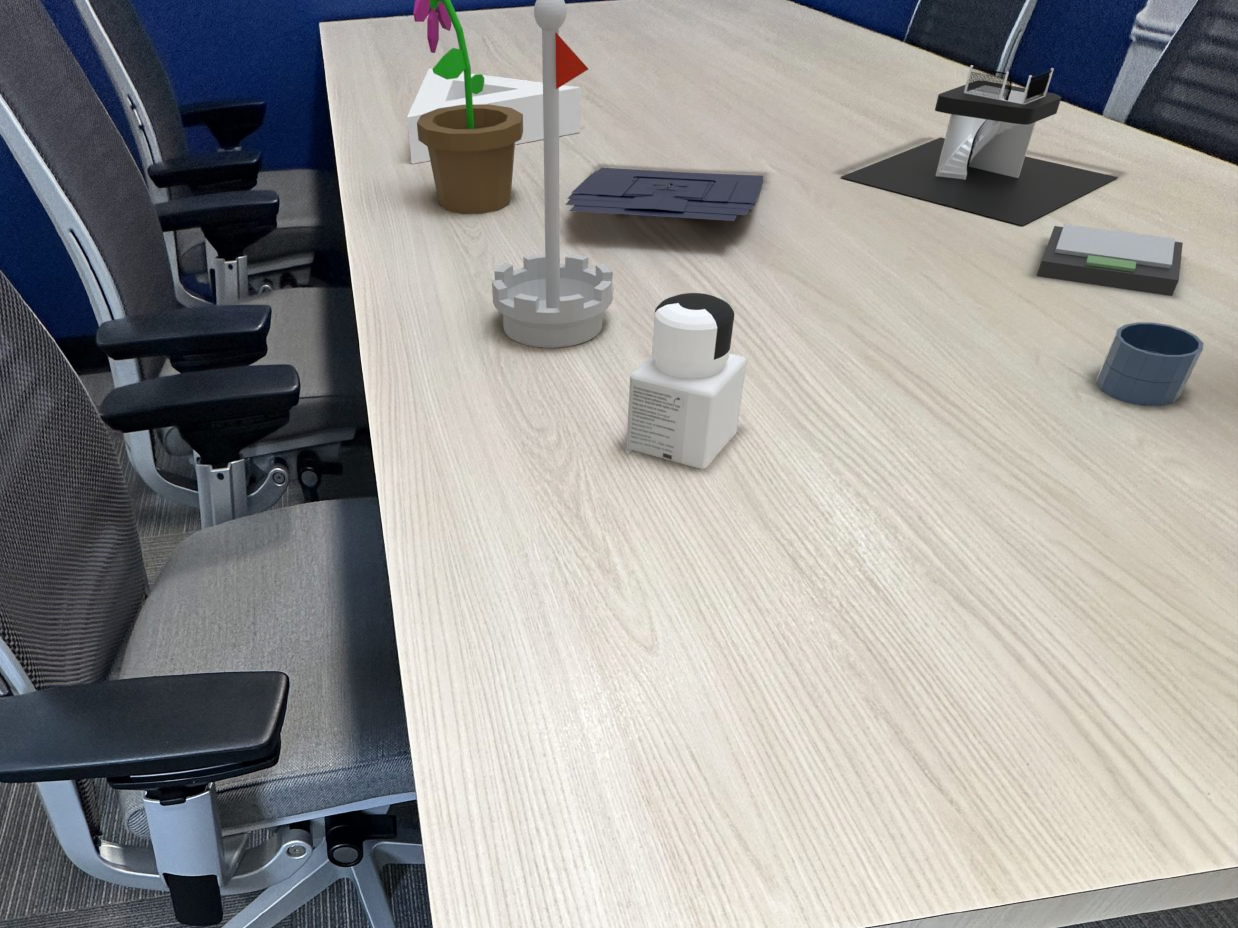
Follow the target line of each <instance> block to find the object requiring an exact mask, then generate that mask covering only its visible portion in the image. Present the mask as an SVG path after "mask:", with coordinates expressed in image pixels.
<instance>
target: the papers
mask: <svg viewBox="0 0 1238 928" xmlns="http://www.w3.org/2000/svg"><path fill="white" fill-rule="evenodd" d="M763 183H764V175H761V174H758V175H757V174H736V173H735V174H733V173H714V172H713V173H711V172H689V171H687V172H686V171H669V170H652V169H635V168H619V167H617V168H616V167H600V168H599V169H598V170H595V171H593V173H590V174H589V175H588V176H587V177H586V178H585V179H584V180H583V181H582V182H581V183H580V184H579V185H577V186H576V188H575V189H573V190H572V191H571V194H570V195H569V196H567V198H566V199H567V200H568V201H567V202H565V205H566V206H571V208H569V210H568V212H575V213H576V212H578V213H579V212H580V213H596V214H597V213H598V214H613V215H629V216H630V215H632V216H648V217H665V218H679V219H680V218H681V219H696V220H713V221H726V222H727V221H729V222H735V220H736V218H737V216H747V215H748V214H749V211H750V210H753V209H754V207H755V205H756V203H757V201H758V198H759V194H760V192H761V188H762V186H763Z"/></svg>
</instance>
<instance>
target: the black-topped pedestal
mask: <svg viewBox="0 0 1238 928" xmlns="http://www.w3.org/2000/svg"><path fill="white" fill-rule="evenodd" d="M1054 69H1055V68H1053V67H1051V68H1050V70H1048V71H1046V72H1043V73H1039V74H1037V75H1035V76H1033V75H1031V74H1030V75H1028V79H1027V83H1026V86H1025V87H1021V86H1015V85H1013V83H1012V77H1011V75H1010V73H1009V71H1006V72H1005V71H1004V72H1003V71H998V70H991V69H986V68H981V67H976V66H974V65H972V64H971V65H970V67H969V71H968V73H967V74H968V75H967V78H966V82H965V84H963V85H960V86H957V87H954V88H952V89H949V90H946V91H943V92H941V93H938V95H937V98H936V103H935V107H934V111H935V112H938V113H943V114H947V115H950V117H949V121H948V124H947V128H946V133H945V137H941V136H940V137H938V138H935V139H933V140H929V141H928V142H925V143H923V144H920V145H918V146H915V147H912V148H910V149H908V150H905V151H902V152H900V153H897V154H894V155H892V156H889V157H887V158H885V159H882V160H879V161H877V162H874V163H872V164H869V165H867V166H864V167H862V168H858V169H856V170H854V171H852V172H849V173H847V174H846V173H845V174H844V175H842V176H840V178H842V179H847V180H850V181H853V182H857V183H861V184H865V185H869V186H872V187H876V188H879V189H883V190H887V191H890V192H894V193H898V194H903V195H906V196H909V197H910V196H911V197H913V198H918V199H921V200H924V201H928V202H933V203H937V204H940V205H944V206H947V207H951V208H956V209H959V210H962V211H966V212H970V213H973V214H978V215H982V216H985V217H990V218H993V219H997V220H1000V221H1004V222H1007V223H1013V224H1015V225H1018V226H1025V225H1027V224H1029V223H1030V222H1032V221H1035V220H1036V219H1039V218H1041V217H1043V216H1045V215H1047V214H1049V213H1051V212H1052V211H1055V210H1056V209H1059V208H1060V207H1062V206H1065V205H1067V204H1068V203H1070V202H1072V201H1074V200H1077V199H1078V198H1080V197H1081V196H1085V195H1086V194H1088V193H1090V192H1092V191H1095V190H1096V189H1098V188H1101V187H1102V186H1104V185H1106V184H1108V183H1110V182H1112V181H1114V180H1116V179H1118V178H1119V176H1115V175H1112V174H1107V173H1102V172H1097V171H1092V170H1090V169H1089V170H1088V169H1083V168H1079V167H1075V166H1070V165H1065V164H1061V163H1057V162H1052V161H1048V160H1043V159H1039V158H1036V157H1035V158H1034V157H1030V156H1026V155H1027V151H1028V149H1029V145H1030V142H1031V139H1032V135H1033V133H1034V129H1035V126H1036V123H1037V122H1039V121H1041V120H1045V119H1047V118H1050V117H1052V116H1054V115H1056V114H1057V113H1058V110H1059V107H1060V104H1061V101H1062V96H1060V95H1059V94H1056V93H1054V92H1048V89H1049V86H1050V83H1051V79H1052V77H1053V72H1054Z"/></svg>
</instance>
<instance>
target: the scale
mask: <svg viewBox="0 0 1238 928" xmlns="http://www.w3.org/2000/svg"><path fill="white" fill-rule="evenodd" d="M1183 244H1184V242H1181V241H1176V238H1175V237H1170V236H1169V237H1168V236H1160V235H1153V234H1146V233H1145V234H1144V233H1137V232H1129V231H1121V230H1114V229H1107V228H1099V227H1092V226H1091V227H1090V226H1084V225H1075V224H1068V223H1064V224H1063V226H1059V225H1054V226H1053V229H1052V231H1051V234H1050V237H1049V240H1048V242H1047V245H1046V248H1045V251H1044V253H1043V256H1042V259H1041V262H1040V265H1039V267H1038V271H1037V274H1036V277H1040V278H1047V279H1053V280H1061V281H1066V282H1074V283H1081V284H1086V285H1094V286H1101V287H1107V288H1113V289H1121V290H1128V291H1135V292H1140V293H1148V294H1154V295H1155V294H1157V295H1163V296H1168V297H1172V296H1173V294H1174V293H1175V290H1176V287H1177V285H1178V284H1179V281H1180V273H1181V264H1182V254H1183V246H1184V245H1183Z"/></svg>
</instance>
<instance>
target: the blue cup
mask: <svg viewBox="0 0 1238 928" xmlns="http://www.w3.org/2000/svg"><path fill="white" fill-rule="evenodd" d="M1203 351H1204V342H1203V341H1202V340H1201V339H1200V337H1198V336H1197V335H1196V334H1194V333H1192V332H1191V331H1188V330H1186V329H1183V328H1180V327H1177V326H1175V325H1171V324H1165V323H1160V322H1153V321H1152V322H1150V321H1149V322H1147V321H1146V322H1145V321H1143V322H1142V321H1141V322H1140V321H1139V322H1138V321H1137V322H1131V323H1127V324H1124V325H1122V326H1120V327H1118V328H1117V329H1116V331H1115V334H1114V336H1113V338H1112V341H1111V343H1110V345H1109V348H1108V350H1107V352H1106V355H1105V357H1104V359H1103V362H1102V365H1101V367H1100V368H1099V372H1098V374H1097V376H1096V380H1095V383H1096V385H1097V387H1098V389H1099V390H1100V391H1101V392H1103V393H1104V394H1106V395H1107V396H1109V397H1110V398H1113V399H1116V400H1118V401H1121V402H1124V403H1127V404H1133V405H1138V406H1144V407H1145V406H1146V407H1161V406H1165V405H1170V404H1174V403H1175V402H1176V401H1177V400H1179V399H1180V398H1181V396H1182V393H1183V391H1184V389H1185V387H1186V385H1187V383H1188V381H1189V379H1190V378H1191V375H1192V373H1193V371H1194V369H1195V367H1196V365H1197V363H1198V360H1199V359H1200V356H1201V355H1202V352H1203Z"/></svg>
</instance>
